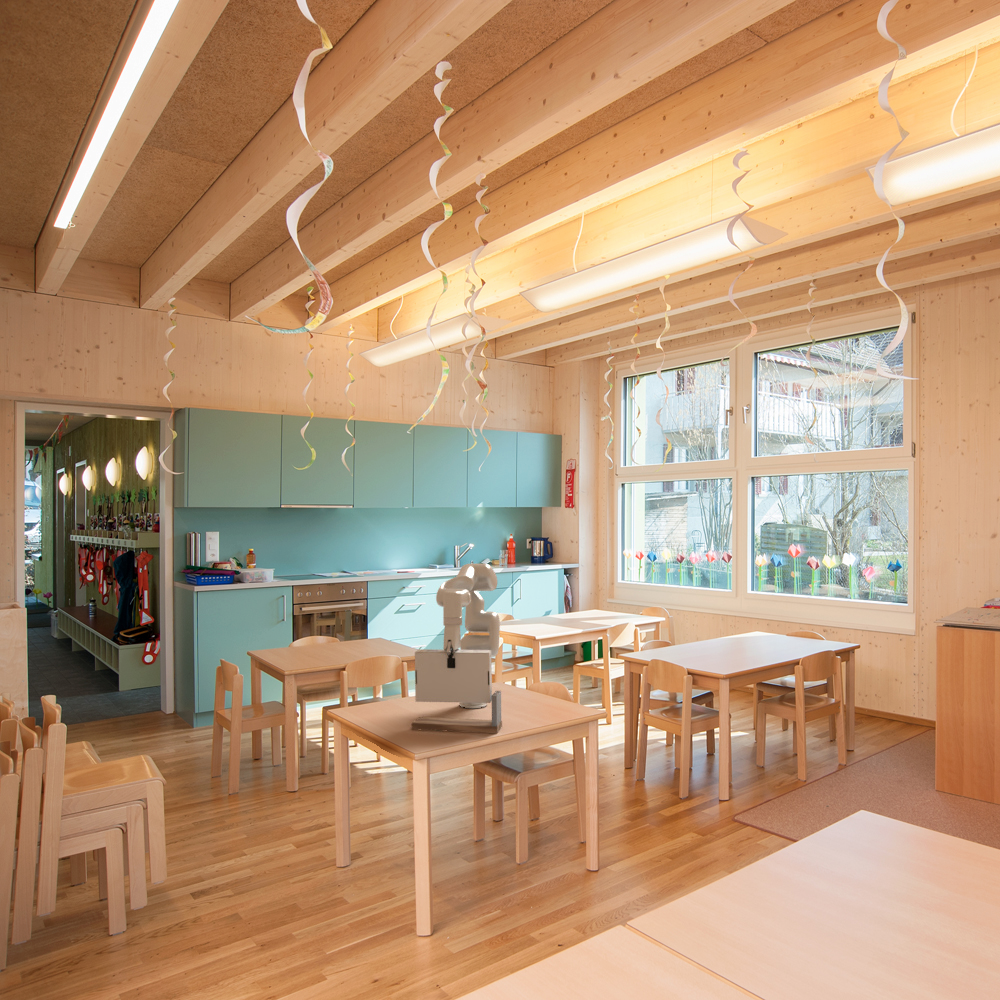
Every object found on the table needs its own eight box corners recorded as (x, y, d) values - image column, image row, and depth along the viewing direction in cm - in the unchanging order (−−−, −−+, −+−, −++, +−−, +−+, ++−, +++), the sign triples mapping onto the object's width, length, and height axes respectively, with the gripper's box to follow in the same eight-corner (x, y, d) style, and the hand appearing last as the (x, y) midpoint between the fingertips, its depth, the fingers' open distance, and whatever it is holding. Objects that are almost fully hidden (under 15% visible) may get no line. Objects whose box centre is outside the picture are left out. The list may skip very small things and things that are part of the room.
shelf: (419, 723, 318) (419, 716, 318) (502, 726, 311) (502, 720, 311) (411, 729, 308) (411, 723, 308) (497, 733, 301) (497, 726, 301)
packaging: (492, 699, 312) (491, 650, 312) (489, 703, 306) (489, 652, 306) (418, 698, 316) (418, 649, 316) (415, 701, 309) (414, 652, 309)
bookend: (496, 720, 311) (496, 690, 311) (501, 720, 310) (501, 690, 311) (491, 726, 302) (491, 695, 302) (496, 726, 302) (496, 695, 302)
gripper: (449, 618, 320) (449, 662, 319) (437, 624, 303) (438, 670, 303) (466, 619, 318) (467, 663, 318) (456, 624, 302) (456, 671, 301)
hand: (453, 666), depth 310 cm, fingers closed on packaging, 4 cm apart
